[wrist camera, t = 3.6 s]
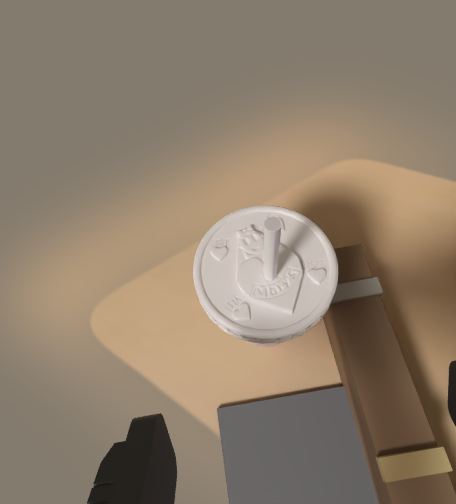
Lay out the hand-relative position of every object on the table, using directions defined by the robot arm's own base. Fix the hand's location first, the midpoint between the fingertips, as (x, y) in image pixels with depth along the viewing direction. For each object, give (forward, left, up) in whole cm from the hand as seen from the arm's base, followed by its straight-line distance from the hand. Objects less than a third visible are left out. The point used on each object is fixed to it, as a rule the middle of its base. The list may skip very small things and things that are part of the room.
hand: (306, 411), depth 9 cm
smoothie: (0, -6, -13) cm, 14 cm away
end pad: (0, +3, -13) cm, 13 cm away
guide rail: (-6, -1, -13) cm, 14 cm away
